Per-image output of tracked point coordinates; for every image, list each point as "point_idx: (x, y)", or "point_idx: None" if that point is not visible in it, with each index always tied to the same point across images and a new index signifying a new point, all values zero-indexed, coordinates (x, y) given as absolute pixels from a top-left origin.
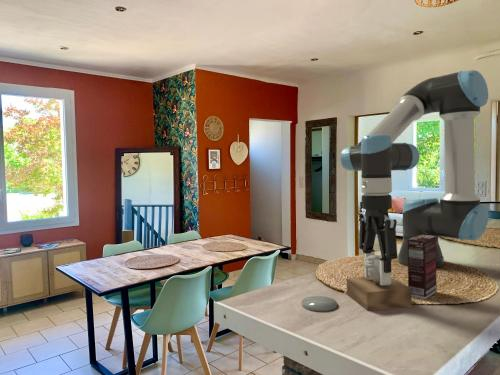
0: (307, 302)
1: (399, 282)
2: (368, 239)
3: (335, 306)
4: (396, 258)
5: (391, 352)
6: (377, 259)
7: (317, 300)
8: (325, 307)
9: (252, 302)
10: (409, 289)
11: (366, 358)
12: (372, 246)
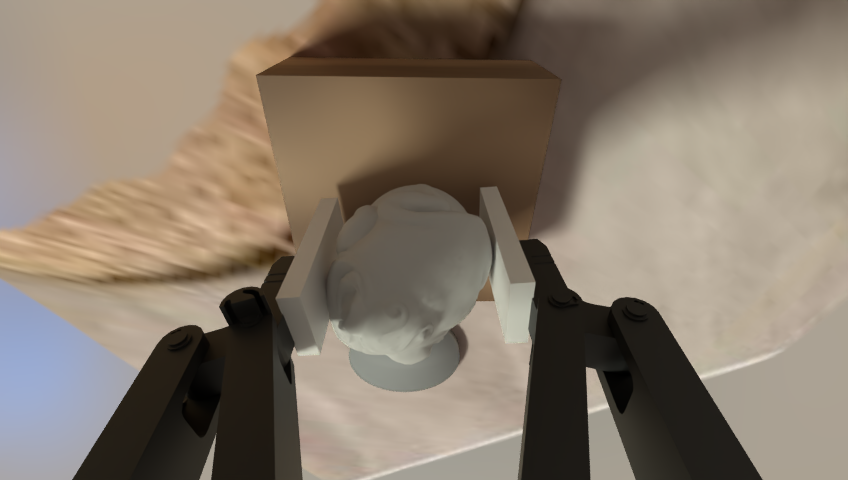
0: (400, 382)
1: (437, 84)
2: (300, 476)
3: None
4: (638, 301)
5: (751, 310)
6: (438, 318)
7: (391, 359)
8: (454, 357)
9: (348, 451)
10: (557, 91)
11: (728, 357)
12: (276, 359)
